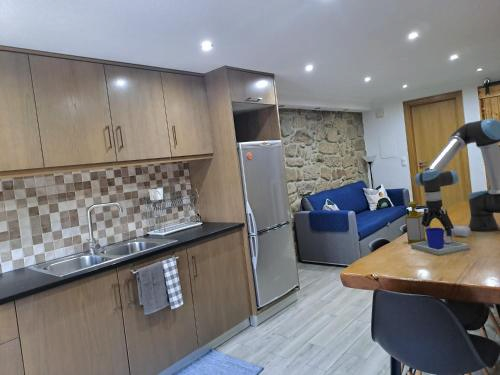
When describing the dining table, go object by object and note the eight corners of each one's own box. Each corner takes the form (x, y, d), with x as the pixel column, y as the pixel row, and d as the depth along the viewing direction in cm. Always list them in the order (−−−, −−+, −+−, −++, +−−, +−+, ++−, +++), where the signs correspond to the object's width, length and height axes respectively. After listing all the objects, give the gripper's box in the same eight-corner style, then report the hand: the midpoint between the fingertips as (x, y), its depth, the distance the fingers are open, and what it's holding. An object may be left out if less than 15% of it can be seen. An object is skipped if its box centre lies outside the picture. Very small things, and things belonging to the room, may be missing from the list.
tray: (439, 242, 200) (439, 238, 200) (469, 249, 181) (468, 244, 180) (411, 248, 196) (410, 243, 196) (438, 255, 177) (437, 250, 177)
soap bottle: (428, 239, 212) (424, 199, 211) (421, 244, 203) (416, 202, 202) (415, 238, 217) (411, 199, 216) (408, 243, 208) (403, 202, 207)
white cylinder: (470, 236, 206) (457, 235, 214) (470, 226, 206) (457, 225, 214) (463, 237, 204) (450, 235, 211) (463, 226, 204) (450, 225, 211)
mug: (455, 248, 182) (453, 229, 182) (430, 250, 185) (427, 231, 184) (450, 245, 190) (448, 226, 190) (425, 247, 193) (423, 228, 193)
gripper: (411, 199, 199) (416, 238, 200) (445, 202, 174) (450, 245, 175) (423, 197, 200) (428, 235, 201) (458, 199, 176) (463, 242, 177)
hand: (438, 240), depth 188 cm, fingers open, 13 cm apart
